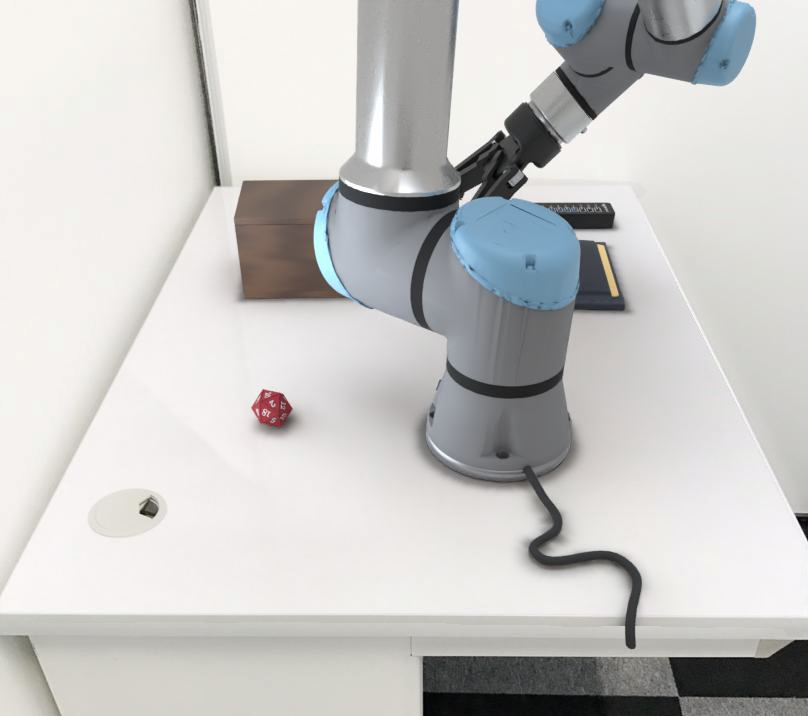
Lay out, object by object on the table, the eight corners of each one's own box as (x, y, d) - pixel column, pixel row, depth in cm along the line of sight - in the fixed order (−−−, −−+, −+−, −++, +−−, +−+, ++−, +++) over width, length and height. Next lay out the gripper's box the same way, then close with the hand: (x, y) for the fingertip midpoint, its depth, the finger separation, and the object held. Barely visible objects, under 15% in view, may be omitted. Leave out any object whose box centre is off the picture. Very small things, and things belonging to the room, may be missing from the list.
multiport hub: (516, 216, 133) (517, 202, 132) (607, 216, 134) (610, 202, 132) (519, 228, 130) (521, 213, 128) (613, 228, 130) (616, 213, 129)
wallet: (506, 230, 125) (611, 234, 124) (505, 243, 126) (609, 247, 125) (509, 293, 110) (627, 298, 109) (507, 307, 111) (625, 312, 111)
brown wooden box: (355, 255, 123) (352, 179, 115) (355, 297, 113) (353, 216, 106) (252, 257, 122) (242, 180, 115) (244, 298, 113) (233, 218, 105)
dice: (256, 413, 93) (251, 382, 90) (296, 414, 93) (293, 383, 90) (250, 433, 90) (245, 401, 88) (292, 434, 90) (288, 402, 87)
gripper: (583, 180, 99) (445, 303, 109) (547, 116, 116) (432, 227, 126) (543, 132, 95) (404, 264, 105) (512, 73, 113) (396, 191, 122)
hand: (419, 244), depth 115 cm, fingers closed on drawer, 12 cm apart
